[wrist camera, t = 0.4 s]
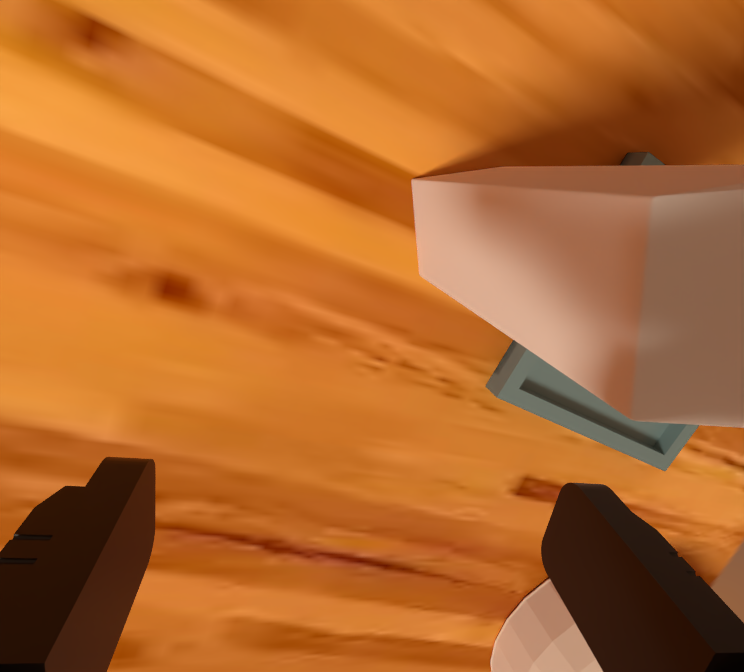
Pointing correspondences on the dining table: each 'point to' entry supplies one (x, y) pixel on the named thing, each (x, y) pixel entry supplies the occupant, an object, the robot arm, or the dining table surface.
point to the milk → (603, 276)
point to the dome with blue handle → (542, 637)
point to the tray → (585, 397)
